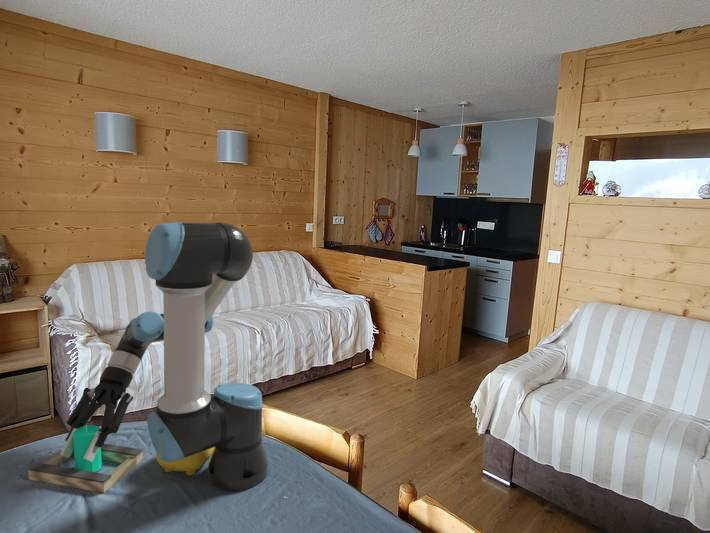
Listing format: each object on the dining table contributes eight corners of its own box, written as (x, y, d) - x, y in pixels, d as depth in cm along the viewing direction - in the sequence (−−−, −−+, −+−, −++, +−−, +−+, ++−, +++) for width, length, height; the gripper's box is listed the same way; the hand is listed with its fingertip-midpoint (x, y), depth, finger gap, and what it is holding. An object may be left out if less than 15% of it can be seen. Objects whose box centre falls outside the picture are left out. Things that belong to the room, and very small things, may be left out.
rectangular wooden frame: (142, 459, 118) (142, 449, 118) (104, 492, 105) (103, 481, 104) (74, 448, 122) (74, 438, 122) (29, 479, 108) (28, 468, 108)
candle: (89, 477, 110) (87, 432, 108) (68, 473, 111) (66, 429, 109) (107, 463, 116) (105, 420, 114) (87, 460, 117) (85, 417, 115)
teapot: (227, 445, 127) (227, 404, 125) (192, 489, 107) (191, 441, 106) (184, 439, 129) (183, 399, 127) (141, 481, 109) (139, 435, 108)
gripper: (157, 380, 124) (118, 467, 110) (97, 372, 127) (53, 456, 114) (144, 368, 118) (101, 459, 104) (82, 361, 121) (33, 448, 108)
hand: (76, 458), depth 109 cm, fingers closed on candle, 6 cm apart
